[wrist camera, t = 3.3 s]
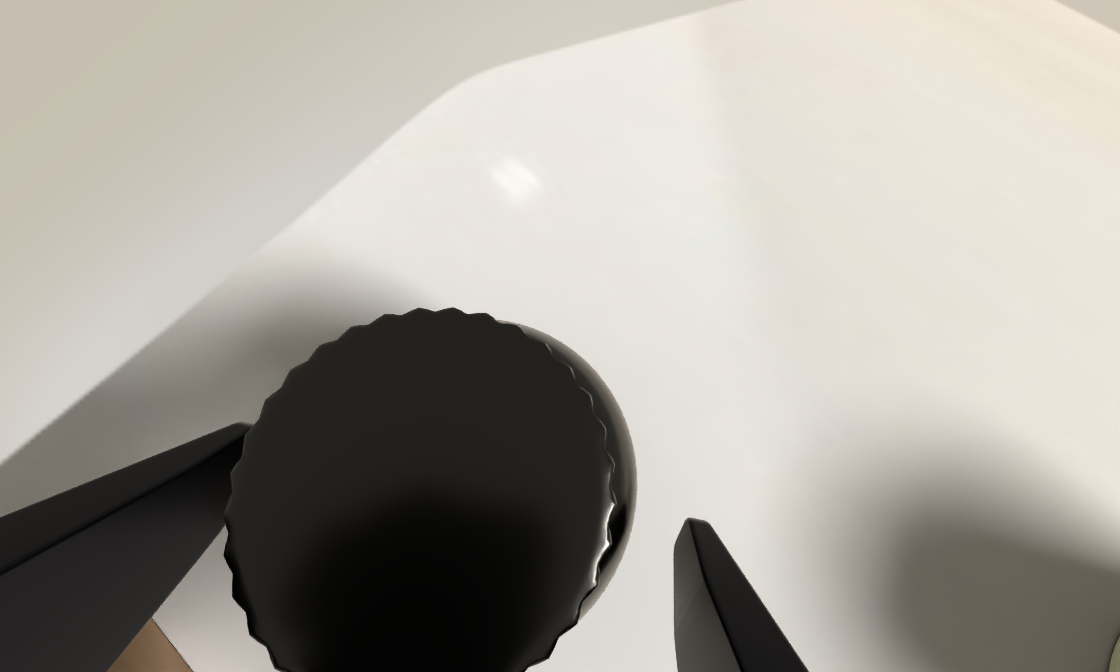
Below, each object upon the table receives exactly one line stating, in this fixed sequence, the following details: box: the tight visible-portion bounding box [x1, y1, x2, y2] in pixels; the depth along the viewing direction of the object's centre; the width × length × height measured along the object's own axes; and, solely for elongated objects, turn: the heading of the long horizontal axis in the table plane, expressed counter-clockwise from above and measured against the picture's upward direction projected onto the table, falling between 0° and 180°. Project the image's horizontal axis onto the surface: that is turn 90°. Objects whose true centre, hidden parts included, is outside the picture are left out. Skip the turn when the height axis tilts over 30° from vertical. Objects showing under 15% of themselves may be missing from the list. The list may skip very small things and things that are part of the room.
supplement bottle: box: [223, 307, 637, 672], centre depth 11 cm, size 7×7×12 cm
